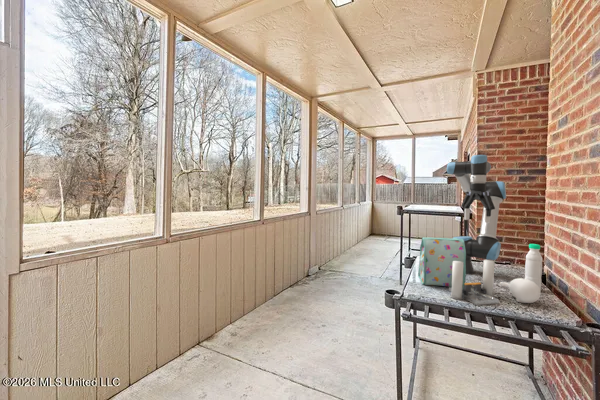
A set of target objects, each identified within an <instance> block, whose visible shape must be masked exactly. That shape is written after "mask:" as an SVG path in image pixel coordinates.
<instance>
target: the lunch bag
mask: <svg viewBox="0 0 600 400" xmlns="http://www.w3.org/2000/svg"><path fill="white" fill-rule="evenodd" d="M419 250H420V251H419V262H418V271H417V272H418V273H417V277H418V278H419V280H420V282H421V284H422V285H426V286H437V287H447V288H449V287H452V266H453V261H461V262H463V285H462V287H464V283H466V278H467V277H466V276H467V274H466V263H465V261H466V250H465V244H464V240H463V239H457V238H453V237H452V238H450V237H449V238H448V237H432V236H431V237H430V236H429V237H422V238H421V242H420V246H419Z"/></svg>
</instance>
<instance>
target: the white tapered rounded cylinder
mask: <svg viewBox="0 0 600 400" xmlns="http://www.w3.org/2000/svg"><path fill="white" fill-rule="evenodd" d="M462 285H463V262H461V261H453V266H452V291H451V292H450V293H451V294H450V296H449V297H450V298H451V299H452V298H453V300H456V299H457V301H462V300H463V299H464V298H463V297H462Z"/></svg>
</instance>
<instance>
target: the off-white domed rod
mask: <svg viewBox="0 0 600 400" xmlns="http://www.w3.org/2000/svg"><path fill="white" fill-rule="evenodd" d="M482 264H483V267H482V284H481V288H482V289H484V290H486V294H487V295H490V296H492V297H494V298H495V295H494V284H495V283H494V281H495V260H487V259H483V263H482Z"/></svg>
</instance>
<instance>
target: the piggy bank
mask: <svg viewBox="0 0 600 400" xmlns="http://www.w3.org/2000/svg"><path fill="white" fill-rule="evenodd" d="M499 285H500V286H502V287H506V288H509V289H508V290H509V292H510V293H511V294H512V296H513V297H514V298H515V301H516V302H519V303H522V304H529V303H531V304H532V303H535V302H537V301H538V300H539V299H540V298H541V294H542V293H541V291H540V289H539V287H538V286H537V285H536V284H535V283H534V282H532V281H530V280H527V279H525V278H521V277H519V278H514V279H512V280H511V281H510V282H504V281H500V282H499Z"/></svg>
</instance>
